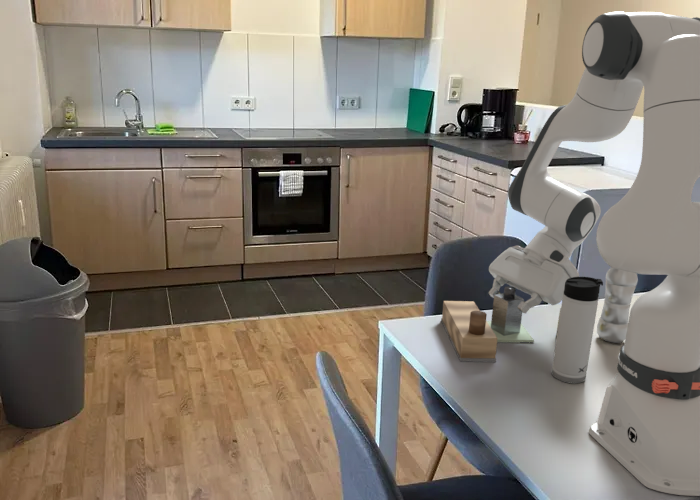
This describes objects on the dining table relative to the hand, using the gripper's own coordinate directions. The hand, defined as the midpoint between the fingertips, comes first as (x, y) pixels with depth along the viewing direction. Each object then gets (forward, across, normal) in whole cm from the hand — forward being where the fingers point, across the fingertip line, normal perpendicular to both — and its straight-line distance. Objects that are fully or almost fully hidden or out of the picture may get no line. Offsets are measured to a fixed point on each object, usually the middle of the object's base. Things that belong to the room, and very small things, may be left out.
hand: (505, 303), depth 139 cm
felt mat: (+5, 0, +6) cm, 7 cm away
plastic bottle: (-9, +12, +20) cm, 25 cm away
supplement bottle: (-4, +7, +14) cm, 16 cm away
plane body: (+12, 0, -2) cm, 12 cm away
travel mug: (+6, +21, +4) cm, 22 cm away
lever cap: (+4, 0, +5) cm, 7 cm away
